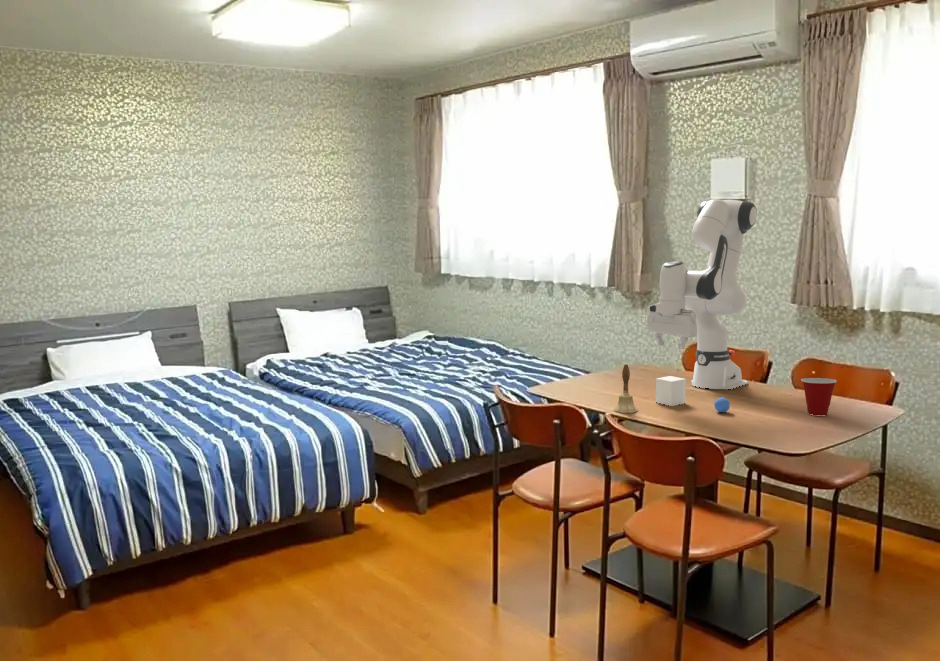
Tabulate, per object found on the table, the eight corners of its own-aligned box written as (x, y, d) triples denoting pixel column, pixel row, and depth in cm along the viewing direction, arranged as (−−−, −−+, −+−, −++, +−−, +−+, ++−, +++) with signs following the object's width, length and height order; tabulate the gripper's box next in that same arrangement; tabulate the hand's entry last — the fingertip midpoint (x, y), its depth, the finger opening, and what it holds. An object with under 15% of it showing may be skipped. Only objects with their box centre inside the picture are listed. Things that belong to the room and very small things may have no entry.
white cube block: (669, 399, 296) (670, 375, 294) (685, 403, 290) (685, 378, 289) (655, 402, 292) (656, 378, 290) (671, 406, 286) (671, 381, 285)
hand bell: (608, 409, 283) (609, 363, 281) (629, 406, 287) (629, 361, 284) (622, 414, 276) (622, 367, 274) (643, 411, 279) (643, 365, 277)
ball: (720, 409, 279) (721, 395, 279) (732, 412, 275) (733, 398, 275) (711, 412, 277) (711, 397, 276) (723, 414, 273) (723, 400, 272)
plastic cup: (827, 410, 276) (828, 375, 274) (840, 418, 265) (842, 381, 264) (794, 410, 276) (796, 375, 275) (806, 418, 266) (808, 382, 264)
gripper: (701, 310, 279) (700, 350, 281) (656, 305, 296) (655, 343, 298) (689, 311, 276) (688, 351, 278) (644, 306, 292) (643, 344, 294)
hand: (671, 347), depth 288 cm, fingers open, 8 cm apart
